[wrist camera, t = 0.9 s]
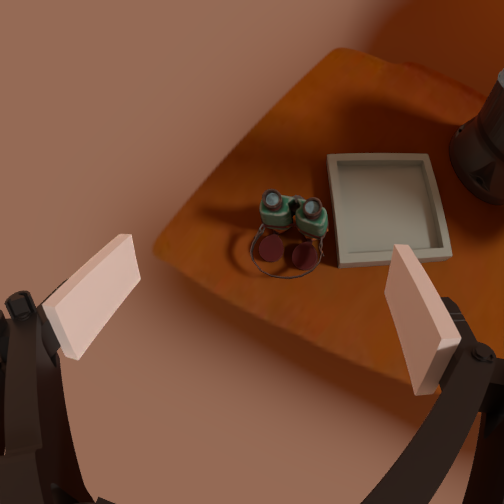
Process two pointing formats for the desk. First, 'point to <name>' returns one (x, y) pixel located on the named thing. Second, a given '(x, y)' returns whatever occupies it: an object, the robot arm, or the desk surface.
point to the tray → (385, 208)
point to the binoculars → (280, 220)
